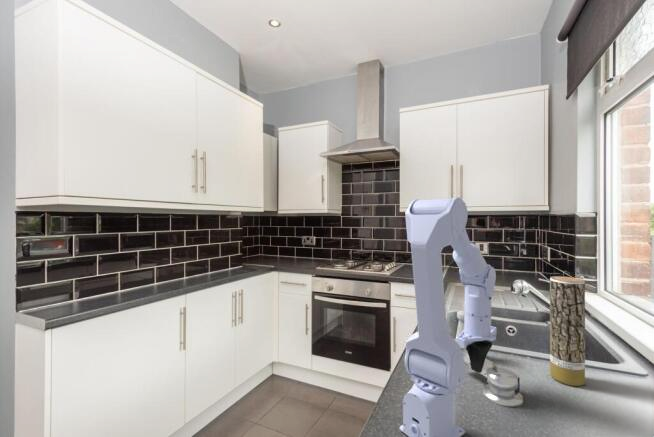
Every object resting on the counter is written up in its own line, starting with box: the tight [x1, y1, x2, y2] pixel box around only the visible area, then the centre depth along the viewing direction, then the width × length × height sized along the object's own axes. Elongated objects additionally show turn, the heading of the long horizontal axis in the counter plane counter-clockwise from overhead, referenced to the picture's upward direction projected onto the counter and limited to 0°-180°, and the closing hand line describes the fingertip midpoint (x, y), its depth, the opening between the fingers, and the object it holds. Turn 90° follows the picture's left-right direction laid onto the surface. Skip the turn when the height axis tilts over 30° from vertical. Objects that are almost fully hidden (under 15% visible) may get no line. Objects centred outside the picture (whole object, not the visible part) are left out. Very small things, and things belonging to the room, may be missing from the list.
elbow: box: [461, 348, 519, 391], centre depth 74 cm, size 15×6×4 cm, turn 20°
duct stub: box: [481, 376, 524, 408], centre depth 70 cm, size 9×8×4 cm
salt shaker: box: [454, 309, 465, 341], centre depth 90 cm, size 6×6×13 cm
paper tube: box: [549, 275, 586, 387], centre depth 76 cm, size 7×7×25 cm
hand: (476, 370), depth 73 cm, fingers closed, pressing on elbow
